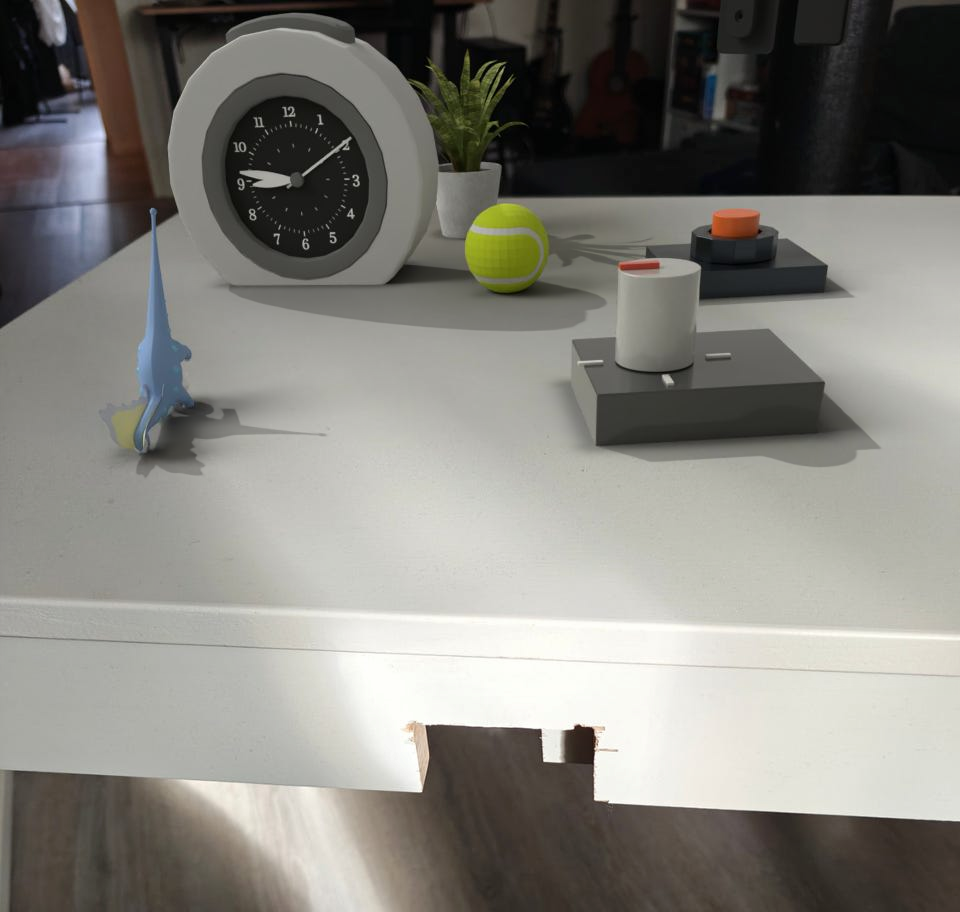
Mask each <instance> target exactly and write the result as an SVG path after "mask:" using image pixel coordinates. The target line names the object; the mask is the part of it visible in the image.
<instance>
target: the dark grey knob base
mask: <svg viewBox="0 0 960 912" xmlns="http://www.w3.org/2000/svg"><path fill="white" fill-rule="evenodd" d="M615 339H616V336H607V337H594V338H593V337H589V338H574V339H572V340H571V362H570V363H571V366H570V367H571V368H570V369H571V372H570V373H571V374H570V375H571V376H570V378H571V379H570V386H571V389H572V391H573V393H574V396H575V398H576V401H577V404H578V406H579V408H580V411H581V413H582V416H583V418H584V421H585V423H586V425H587V428H588V431H589V433H590V436H591V438H592V441H593V444H594V445H595V447H603V446H604V447H605V446H606V447H607V446H623V445H639V444H656V443H657V444H658V443H659V444H660V443H677V442H689V441H690V442H692V441H710V440H725V439H729V440H730V439H744V438H760V437H761V438H763V437H778V436H779V437H780V436H798V435H811V434H812V435H813V434H818V433H819V427H820V421H821V420H820V419H821V414H822V407H823V400H824V394H825V386H826V381H825V380H824V379H823V378H822V377H820V375H819V374H817V373H816V372H815V371H814V370H813V368H811V367H810V366H809V365H808V364H807V363H806V362H805V361H804V360H803V359H802V358H801V357H800V356H799V355H797V353H796V352H795V351H793V350H792V349H791V348H790V347H789V346H788V345H787V344H786V343H785V342H784V341H783V340H782V339H780V337H779V336H777V334H776V333H775V332H774V331H772V330H771V329H770V328H755V329H752V328H751V329H735V330H718V331H701V332H700V331H697V333H696V346H695V359H694V362H693V363H692V364H691V365H690V366H688V367H685V368H682V369H679V370H674V371H666V372H644V371H637V370H632V369H628V368H625V367H622V366H620V365H619V364H617V363H616V361H615Z"/></svg>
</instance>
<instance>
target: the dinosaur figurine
mask: <svg viewBox="0 0 960 912" xmlns="http://www.w3.org/2000/svg"><path fill="white" fill-rule="evenodd" d="M157 213H158V211H157V209H156V208H154V207H151V208H150V209H149V214H150V217H151V256H150V270H149V271H150V272H149V273H150V274H149V286H148V290H149V291H148V300H147V313H146V326H145V330H144V331H145V335H144V337H143V339H142V341H141V342H140V344H139V345H138V348H137V368H136V373H137V378H138V384H139V393H140V396H139V397H138V400H134V399H133V400H131V405H129V404H125V403H123V402H122V403H120V406H118V405H115V404H112V403H111V402H107V403H106V408H104V409H99V410H98V414H99V416H100V418H101V420H102V421H103V422H104V423H105V425H106V426H107V427H108V429H109V436H110V438H111V440H112V441H113V443H115V444H116V445H118V446H119V447H122V448H124V449H126V450H134V451H135V452H136V453H137V454H141V455H143V454H147V453H148V452H150V451H149V450H150V449H151V439H150V436H149V432H150V431H151V429H152V428H154V426H156V425H157V424H158V423H160V422H162V421H163V420H165V419H166V418H168V416H169V415H170V414H171V413H172V412H173V411H174V409H175V408H176V406H177V405H178V404H183V405H182V408H186V409H191V408H194V407H195V401H194V399H193V397H191V395H190V393H189V392H188V391H189V388H190V383H191V379H190V374H189V373H188V372H187V370H186V369H185V368H184V366H182V362H186V363H188V362H190V361H191V359H192V355H193V353H192V350H191V349H190V348H189V347H188V346H187V345H186V344H184V343H183V344H182V343H181V342H179V341H178V340H176V339H174V338H172V333H171V332H172V329H171V327H170V324H169V323H170V322H169V318H168V317H169V314H168V311H167V304H166V302H167V301H166V297H165V291H164V284H163V278H162V277H163V276H162V271H161V264H160V256H159V247H158V238H157V237H158V236H157V224H156V221H157V220H156V215H157Z"/></svg>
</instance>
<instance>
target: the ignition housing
mask: <svg viewBox="0 0 960 912" xmlns="http://www.w3.org/2000/svg"><path fill="white" fill-rule="evenodd" d="M711 232H712V223H711V224H706V225H701V226H698V227H696V228H694V229H693V230H692V231H691V236H690V243H673V244H654V245H652V244H651V245H646V246H645V259H649V258H673V259H682V260H687V261H691V262H694V263H697V264H699V265H700V266H701V281H700V294H699V300H712V299H713V300H716V299H733V298H750V297H767V296H768V297H769V296H788V295H806V294H807V295H808V294H820V293H821V294H822V293H825V291H826V283H827V277H828V269H829V264H827V263H825V262H824V261H822V260H821V259H820V258H818V257H816V256H815V255H813V254H812V253H810V252H809V251H807V250H806V249H804V248H802V247H801V246H799V245H798V244H797V243H795V242H794V241H792V240H791V239H789V238H787V237H785V238H779V233H780V231H779V230H778V229H776V228H774V227H773V226H769V225H764V224H759V230H758V235H753V236H745V237H726V236H718V235H713V234H711Z"/></svg>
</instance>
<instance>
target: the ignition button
mask: <svg viewBox="0 0 960 912" xmlns="http://www.w3.org/2000/svg"><path fill="white" fill-rule="evenodd" d="M760 220H761V212H760V211H758V210H755V209H749V208H724V209H718V210H716V211H714V212H713V213H712V221H711V224H712V232H711V234H713V235H718V236H726V237H745V236H753V235H758V230H759V225H760Z"/></svg>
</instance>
